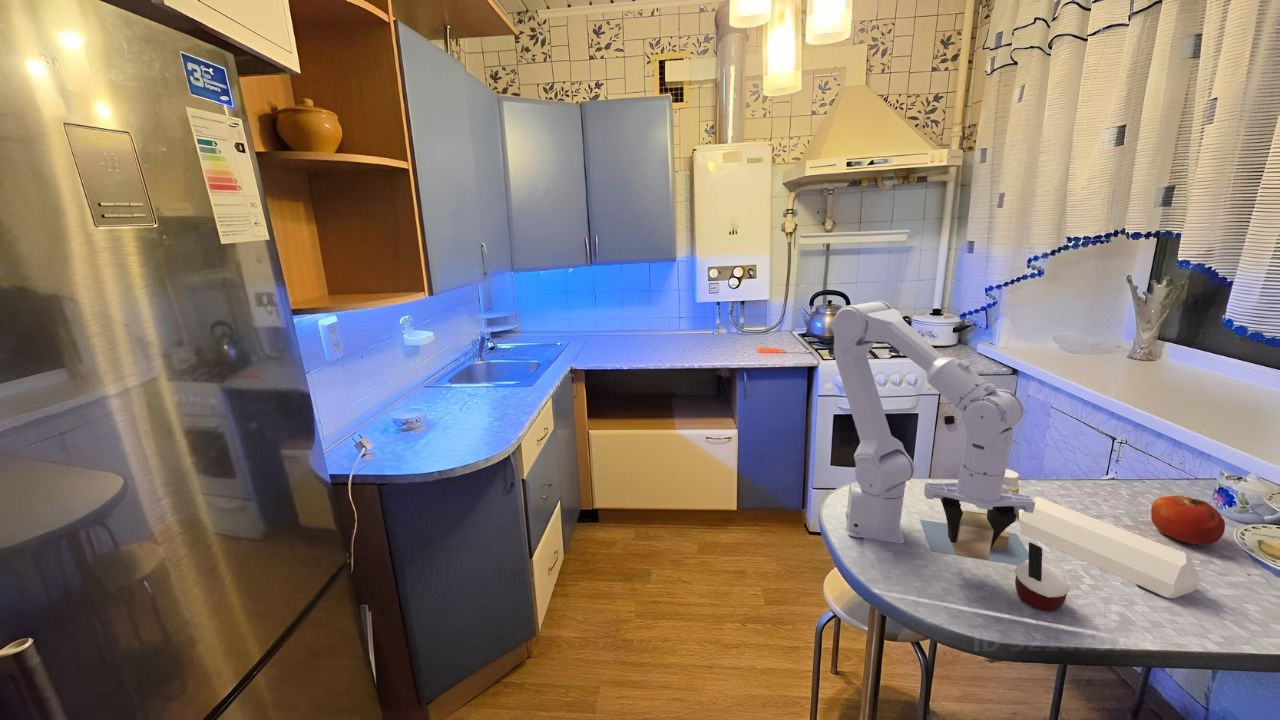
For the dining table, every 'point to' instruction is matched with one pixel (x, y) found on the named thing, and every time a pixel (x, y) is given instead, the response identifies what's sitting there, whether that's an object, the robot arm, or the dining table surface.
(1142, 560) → the crystal
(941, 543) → the board
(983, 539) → the maple block
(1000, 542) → the walnut base block
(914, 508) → the dining table surface
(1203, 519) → the tomato
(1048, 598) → the cocoa
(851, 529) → the robot arm
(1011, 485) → the supplement bottle
